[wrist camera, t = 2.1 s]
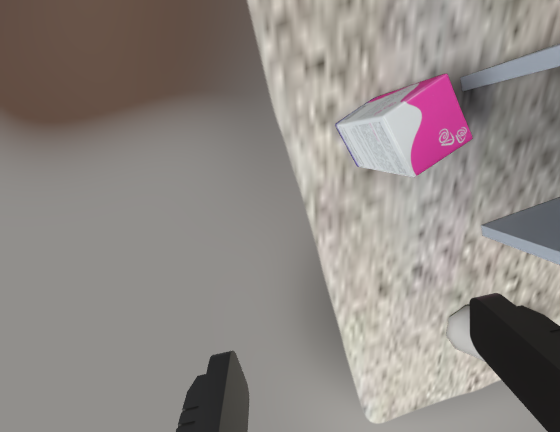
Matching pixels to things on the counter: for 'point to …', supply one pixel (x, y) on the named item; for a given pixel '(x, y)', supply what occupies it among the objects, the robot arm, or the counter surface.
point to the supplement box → (406, 128)
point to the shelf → (544, 217)
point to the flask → (461, 332)
